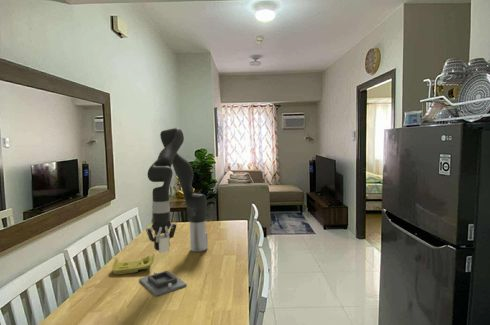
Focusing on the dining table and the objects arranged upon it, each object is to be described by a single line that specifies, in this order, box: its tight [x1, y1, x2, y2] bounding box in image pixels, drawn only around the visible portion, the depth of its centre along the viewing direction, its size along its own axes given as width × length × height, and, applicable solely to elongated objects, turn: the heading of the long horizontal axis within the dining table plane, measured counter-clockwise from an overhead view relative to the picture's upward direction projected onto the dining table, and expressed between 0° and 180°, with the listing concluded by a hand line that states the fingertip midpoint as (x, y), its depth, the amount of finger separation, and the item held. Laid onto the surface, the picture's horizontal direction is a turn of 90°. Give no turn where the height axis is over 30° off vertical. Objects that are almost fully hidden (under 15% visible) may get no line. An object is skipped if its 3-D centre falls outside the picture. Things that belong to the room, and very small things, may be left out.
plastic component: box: [111, 252, 156, 275], centre depth 151 cm, size 20×7×10 cm
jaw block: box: [154, 234, 170, 254], centre depth 134 cm, size 4×6×6 cm, turn 39°
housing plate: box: [138, 270, 187, 297], centre depth 135 cm, size 14×19×3 cm
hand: (162, 248), depth 134 cm, fingers closed on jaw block, 4 cm apart
